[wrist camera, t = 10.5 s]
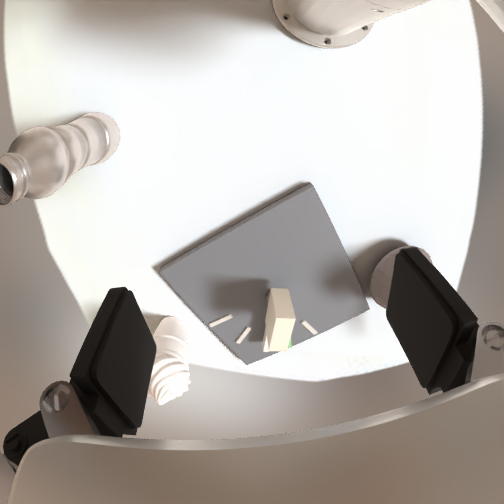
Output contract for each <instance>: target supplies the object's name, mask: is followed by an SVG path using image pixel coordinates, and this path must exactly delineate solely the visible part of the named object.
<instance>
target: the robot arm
mask: <svg viewBox="0 0 504 504" xmlns="http://www.w3.org/2000/svg"><path fill="white" fill-rule="evenodd" d="M428 1H430V0H272V3H273V8H274V11H275V13H276V16H277V17H278V19H279V21H280V22H281V24H282V25H283V26H284V27H285V28H286V29H287V30H288V31H289V32H290V33H291V34H293V35H294V36H295V37H297V38H298V39H300V40H302V41H304V42H306V43H308V44H311V45H313V46H317V47H321V48H331V49H335V48H343V47H347V46H351V45H353V44H356V43H357V42H359V41H361V40H362V39H364V38H365V36H366V35H367V34H368V33H369V32H370V30H371V28H372V27H373V23H374V22H375V21H378V20H380V19H383V18H385V17H388V16H391V15H393V14H396V13H399V12H402V11H404V10H407V9H410V8H413V7H416V6H419V5H422V4H424V3H426V2H428ZM476 1H477V2H478V3H479V4H480V5H481V6H482V7H483V9H484V10H485V11H486V12H487V13H488V14H489V15H490V16H491V18H492V19H493V20H494V21H495V23H496V24H497V25H498V26H499V27H500V29H501V30H502V31H503V32H504V0H476ZM284 17H287V18H288V20H285V19H284ZM362 27H363V29H364V30H363V29H362ZM324 41H327V44H325V42H324ZM386 316H387V320H388V322H389V323H390V325H391V327H392V329H393V331H394V333H395V335H396V336H397V338H398V340H399V342H400V344H401V346H402V348H403V350H404V352H405V354H406V356H407V358H408V360H409V362H410V364H411V365H412V368H413V370H414V372H415V374H416V376H417V378H418V380H419V382H420V384H421V386H422V387H423V388H426V389H427V391H428V393H429V395H430V394H432V393H435V392H438V391H440V390H442V391H443V393H442V394H439V395H436V396H433V397H431V398H428V399H425V400H422V401H419V402H416V403H413V404H411V405H407V406H404V407H401V408H398V409H394V410H391V411H388V412H385V413H381V414H377V415H374V416H370V417H366V418H362V419H358V420H354V421H350V422H345V423H341V424H336V425H332V426H327V427H322V428H316V429H311V430H305V431H299V432H292V433H285V434H278V435H269V436H260V437H250V438H237V439H220V440H156V439H135V438H122V435H123V434H126V435H136V432H137V428H139V427H140V426H141V424H142V419H143V414H144V409H145V403H146V398H147V393H148V389H149V384H150V379H151V374H152V370H153V365H154V361H155V356H156V351H157V347H156V343H155V340H154V338H153V336H152V334H151V332H150V330H149V328H148V326H147V324H146V322H145V319H144V317H143V315H142V313H141V311H140V308H139V306H138V304H137V302H136V299H135V297H134V295H133V293H132V291H130V290H129V291H128V289H127V288H126V287H119V288H111V289H110V290H109V291H108V293H107V295H106V297H105V299H104V301H103V303H102V305H101V307H100V309H99V311H98V313H97V315H96V317H95V319H94V321H93V323H92V325H91V328H90V330H89V332H88V334H87V336H86V338H85V341H84V343H83V345H82V347H81V350H80V352H79V354H78V356H77V359H76V361H75V363H74V366H73V368H72V371H71V373H70V377H71V380H70V382H69V383H68V382H67V381H56V382H54V383H52V384H50V385H49V386H48V387H47V388H46V389H45V390H44V391H43V393H42V395H41V397H40V402H39V403H40V411H38V412H37V413H35V414H34V415H32V416H31V417H30V418H28V419H27V420H25V421H24V422H22V423H21V424H19V425H18V426H16V427H15V428H13V429H12V430H11V431H9V433H8V434H7V435H6V437H5V440H4V444H3V449H4V453H2V452H1V451H0V504H504V325H502V324H500V323H498V322H493V321H489V322H485V323H483V324H481V325H480V326H479V325H478V324H477V320H478V318H477V317H476V316H475V315H474V313H473V312H472V311H471V309H470V308H469V307H468V306H467V304H466V303H465V302H464V301H463V300H462V298H461V297H460V296H459V295H458V293H457V292H456V291H455V290H454V288H453V287H452V286H451V285H450V284H449V283H448V281H447V280H446V279H445V278H444V277H443V276H442V275H441V273H440V272H439V271H438V270H437V269H436V268H435V267H434V266H433V264H432V263H431V262H430V261H429V260H428V259H427V258H426V257H425V256H424V255H423V254H422V252H421V251H420V250H419V249H418V248H417V247H409V248H403V249H401V250H400V251H399V253H397V254H396V256H395V262H394V269H393V275H392V282H391V287H390V293H389V299H388V304H387V309H386Z"/></svg>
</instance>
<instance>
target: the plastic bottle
mask: <svg viewBox="0 0 504 504" xmlns="http://www.w3.org/2000/svg"><path fill="white" fill-rule="evenodd" d="M119 141H120V131H119V128H118V125H117V123H116V122H115V121H114V119H113V118H111V117H110V116H108V115H106V114H103V113H97V112H92V113H87V114H85V115H83V116H81V117H79V118H78V119H76V120H75V121H72V122H70V123H68V124H64V125H59V126H52V127H36V128H31V129H28V130H26V131H24V132H23V133H21V134H20V135H19V136H18V137H17V138H16V139H15V140H14V141H13V143H12V144H11V146H10V148H9V150H8V152H7V154H5V155H2V156H1V157H0V207H6V206H9V205H10V204H12V203H13V202H14V201H18V200H19V199H21V198H22V197H26V198H29V199H40V198H45V197H48V196H50V195H52V194H53V193H54V192H56V191H57V190H58V189H59V188H60V187H61V186H62V185H63V184H64V183H65V182H66V181H67V180H68V179H69V178H70V177H71V176H72V175H73V174H75V173H76V172H77V171H79V170H80V169H82V168H84V167H87V166H90V165H96V164H99V163H102V162H104V161H106V160H107V159H109V158H110V157H111V156H112V154H113V153H114V152H115V151H116V149H117V147H118V145H119Z"/></svg>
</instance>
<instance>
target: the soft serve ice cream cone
mask: <svg viewBox="0 0 504 504" xmlns="http://www.w3.org/2000/svg"><path fill="white" fill-rule="evenodd" d="M153 338H154V340H155V343H156V347H157V351H156V356H155V361H154V365H153V370H152V374H151V379H150V384H149V389H148V393H147V395H148V396H150V397H152V398H154V399H155V401H156V402H157V403H158V404H160V405H162V404H164V403H166V402H167V401H169V400H172V399H175V396H181V395H182V393H183V392H185V391H187V390H188V387H187V385H188V384H189V383H191V380H190V379H189V378H188V377H189V375H190V372H188V371H189V365H188V354H189V349H188V346H187V338H186V329H185V324H184V322H183V321H182V320H180V319H179V318H177V317H172V316H169V317H165V318H163V319H162V320H161V322H160V324H159V325H158V327H157V329H156V331H155V332H154V334H153Z"/></svg>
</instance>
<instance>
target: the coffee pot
mask: <svg viewBox="0 0 504 504" xmlns="http://www.w3.org/2000/svg"><path fill="white" fill-rule="evenodd" d="M409 247H415V246H403V247H399V248H397V249H395V250H393V251H391V252H389V253H388V254H387V255H385V256H384V257H383V258H382V259H381V260H380V261H379V263H378V264H377V265H376V267H375V269H374V271H373V273H372V276H371V282H370V291H371V295H372V298H373V299H374V301H375V302H376V303H377V304H379V305H380V306H382V307H384V308H385V309H387V304H388V299H389V293H390V287H391V282H392V275H393V269H394V262H395V256H396V254H397V253H399V251H400V250H401V249H403V248H409ZM417 248H418V247H417ZM418 249H419V250H420V251H421V252H422V254H423V255H424V256H425V257H426V258H427V259H428V260H429V261H430V262H431V263H432V260H431V258H430V256H429V254H428V253H427V252H426V251H425V250H423V249H421V248H418Z"/></svg>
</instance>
